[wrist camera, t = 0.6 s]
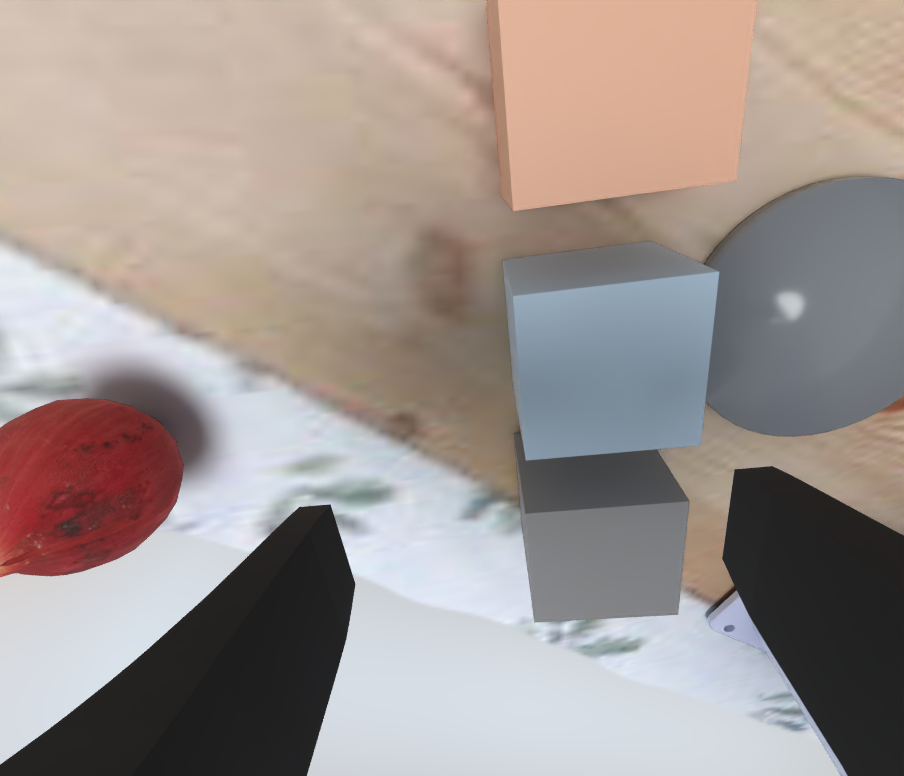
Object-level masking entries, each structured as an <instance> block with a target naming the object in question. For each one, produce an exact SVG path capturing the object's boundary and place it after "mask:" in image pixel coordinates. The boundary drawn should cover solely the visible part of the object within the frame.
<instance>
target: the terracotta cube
mask: <svg viewBox="0 0 904 776" xmlns="http://www.w3.org/2000/svg"><path fill="white" fill-rule="evenodd" d="M756 5H757V0H487V6H486V12H487V24H488V36H489V49H490V61H491V73H492V85H493V98H494V110H495V122H496V135H497V147H498V159H499V171H500V184H501V196H502V198H503V199H504V201H505V202H506V203H507V204H508V205H509V207H510V208H511V209H512V210H513V211H518V210H525V209H533V208H540V207H548V206H555V205H562V204H570V203H577V202H584V201H592V200H599V199H607V198H614V197H621V196H629V195H636V194H643V193H651V192H658V191H666V190H673V189H680V188H688V187H695V186H702V185H710V184H717V183H724V182H732V181H736V180H737V171H738V162H739V154H740V145H741V136H742V127H743V119H744V110H745V101H746V92H747V84H748V75H749V66H750V57H751V49H752V40H753V31H754V22H755V13H756Z"/></svg>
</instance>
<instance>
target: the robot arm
mask: <svg viewBox="0 0 904 776" xmlns="http://www.w3.org/2000/svg"><path fill="white" fill-rule="evenodd" d="M722 559H723V561H724V563H725V565H726V568H727V570H728V572H729V574H730V577H731V579H732V581H733V583H734V585H735V588H736V591H735V592H734V593H733V594H732V595H731V596H730V597H729V598H728V599H726V600H725V601H724V602H723V603H722V604H721V605H720V606H719V607H718V608H717V609H715V610H714V611H713V612H712V613H711V614H710V615H709V616H708V618H707V622H708V624H709V625H710V627H711V629H713V630H714V631H717V632H719V633H721V634H724V635H726V636H729V637H731V638H734V639H736V640H738V641H741V642H743V643H746V644H748V645H750V646H753V647H755V648H758V649H760V650H762V651H765V652H767V653H768V655H769V656H770V658H771V660H772V661H773V663H774V665H775V666H776V668H777V670H778V671H779V673H780V675H781V676H782V678H783V680H784V681H785V683H786V685H787V686H788V688H789V690H790V691H791V693H792V695H793V697H794V698H795V700H796V702H797V703H798V705H799V707H800V708H801V710H802V712H803V713H804V715H805V717H806V718H807V720H808V722H809V723H810V725H811V727H812V728H813V730H814V732H815V733H816V735H817V737H818V738H819V740H820V742H821V743H822V745H823V747H824V748H825V750H826V752H827V753H828V755H829V757H830V758H831V760H832V761H833V763H834V765H835V767H836V768H837V770H838V771H839V773H840V775H841V776H904V536H903V535H901V534H899V533H898V532H896V531H894V530H892V529H890V528H888V527H886V526H884V525H883V524H881V523H879V522H877V521H875V520H873V519H871V518H870V517H868V516H866V515H864V514H862V513H860V512H859V511H857V510H855V509H853V508H851V507H849V506H847V505H846V504H844V503H842V502H840V501H838V500H836V499H835V498H833V497H831V496H829V495H827V494H825V493H824V492H822V491H820V490H818V489H816V488H814V487H812V486H810V485H809V484H807V483H805V482H803V481H801V480H799V479H797V478H795V477H793V476H791V475H789V474H787V473H785V472H783V471H781V470H779V469H777V468H775V467H773V466H770V467H758V468H747V469H735V471H734V478H733V485H732V493H731V500H730V507H729V515H728V522H727V529H726V536H725V544H724V551H723V558H722ZM354 589H355V581H354V578H353V575H352V572H351V569H350V565H349V562H348V559H347V556H346V553H345V549H344V546H343V543H342V540H341V537H340V533H339V530H338V527H337V524H336V521H335V517H334V514H333V511H332V508H331V505H319V506H308V507H299V508H298V509H297V510H296V511H295V512H293V513H292V514H291V515H290V516H289V517H288V518H287V519H286V520H285V521H284V522H283V523H282V524H281V525H280V526H279V527H278V528H276V529H275V530H274V531H273V532H272V533H271V534H270V535H269V536H268V537H267V538H266V539H265V540H264V541H263V542H262V543H261V544H260V545H259V546H258V547H257V548H256V549H255V550H254V551H253V552H252V553H251V554H250V555H249V556H248V557H247V558H246V559H245V560H244V561H243V562H242V563H241V564H240V565H239V566H238V567H237V568H236V569H235V570H234V571H233V572H231V573H230V575H228V576H227V577H226V578H225V579H224V580H223V581H222V582H221V583H220V584H219V585H218V586H217V587H216V588H215V589H214V590H213V591H212V592H211V593H210V594H209V595H208V596H206V598H204V599H203V600H202V601H201V602H200V603H199V604H198V605H197V606H195V607H194V608H193V609H192V610H191V611H190V612H189V613H188V614H187V615H186V616H185V617H183V618H182V619H181V620H180V621H179V622H178V623H177V624H175V625H174V626H173V627H172V628H171V629H170V630H169V631H168V632H167V633H166V634H165V635H163V636H162V637H161V638H160V639H159V640H158V641H157V642H156V643H154V644H153V645H152V646H151V647H150V648H149V649H148V650H147V651H145V652H144V653H143V654H142V655H141V656H140V657H138V658H137V659H136V660H135V661H134V662H133V663H131V664H130V665H129V666H128V667H127V668H125V669H124V670H123V671H122V672H121V673H119V674H118V675H117V676H116V677H114V678H113V679H112V680H111V681H110V682H109V683H107V684H106V685H105V686H104V687H102V688H101V689H100V690H98V691H97V692H96V693H95V694H93V695H92V696H91V697H90V698H88V699H87V700H86V701H85V702H83V703H82V704H81V705H80V706H78V707H77V708H76V709H74V710H73V711H72V712H71V713H70V714H68V715H67V716H66V717H64V718H63V719H62V720H60V721H59V722H58V723H56V724H55V725H54V726H53V727H51V728H50V729H49V730H47V731H46V732H45V733H43V734H42V735H40V736H39V737H38V738H36V739H35V740H34V741H32V742H31V743H29V744H28V745H27V746H25V747H24V748H23V749H21V750H20V751H18V752H17V753H16V754H14V755H13V756H12V757H10V758H9V759H7V760H6V761H5V762H3V763H2V764H1V765H0V776H307V773H308V769H309V766H310V762H311V759H312V756H313V752H314V749H315V746H316V742H317V739H318V735H319V732H320V729H321V725H322V722H323V718H324V715H325V711H326V708H327V705H328V701H329V698H330V694H331V691H332V688H333V684H334V681H335V677H336V673H337V670H338V667H339V663H340V659H341V656H342V652H343V649H344V645H345V641H346V637H347V632H348V626H349V621H350V615H351V609H352V602H353V596H354Z"/></svg>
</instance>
